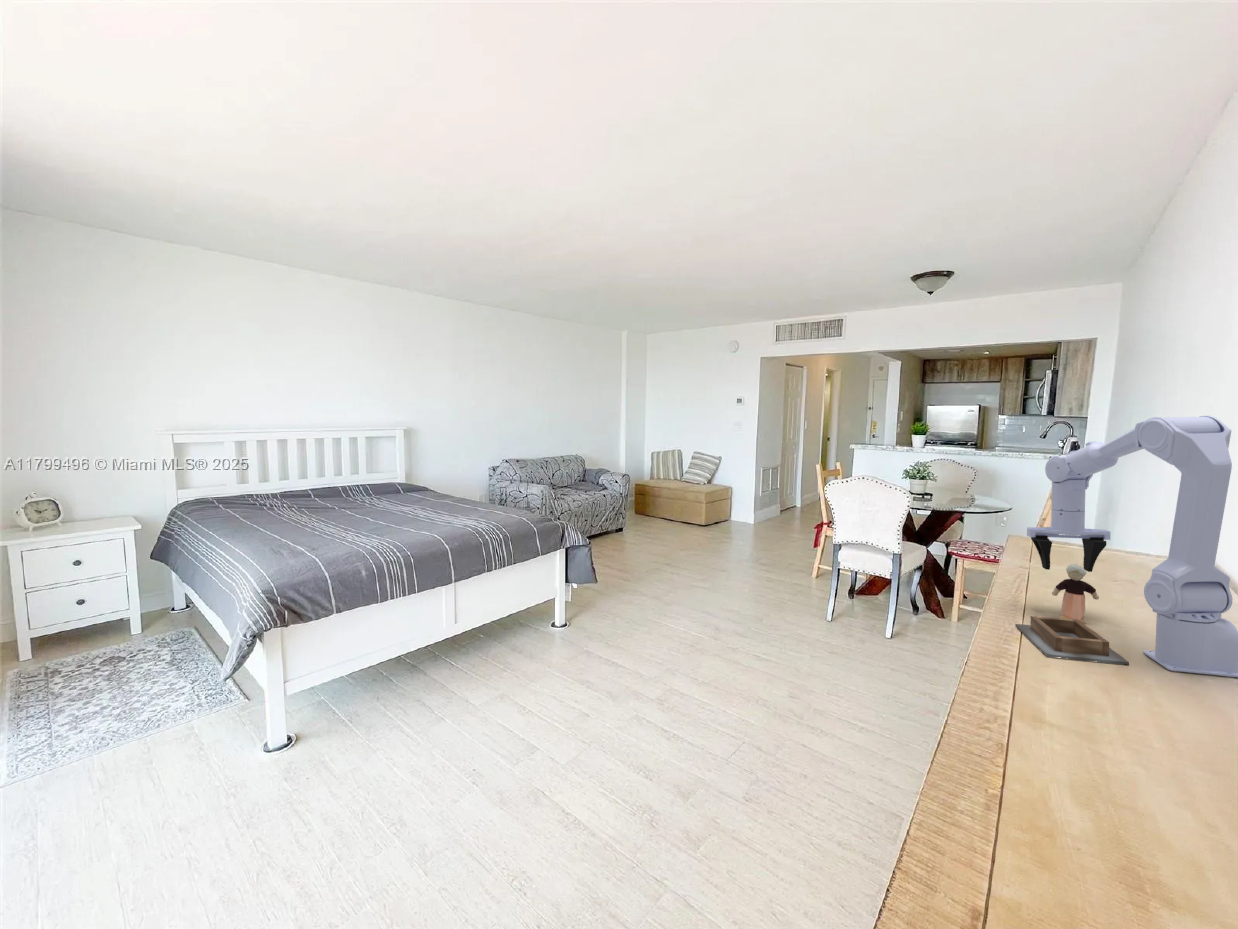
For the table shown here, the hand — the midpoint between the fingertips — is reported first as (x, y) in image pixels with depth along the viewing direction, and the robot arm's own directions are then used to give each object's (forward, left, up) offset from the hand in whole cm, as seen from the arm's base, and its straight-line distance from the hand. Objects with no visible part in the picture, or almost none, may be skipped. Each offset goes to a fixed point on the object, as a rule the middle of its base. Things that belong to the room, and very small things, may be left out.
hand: (1066, 569), depth 118 cm
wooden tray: (+7, +20, -10) cm, 23 cm away
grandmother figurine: (0, +5, -11) cm, 11 cm away
